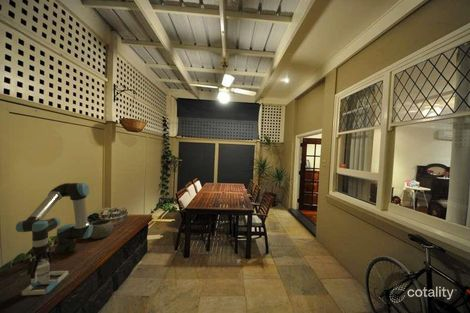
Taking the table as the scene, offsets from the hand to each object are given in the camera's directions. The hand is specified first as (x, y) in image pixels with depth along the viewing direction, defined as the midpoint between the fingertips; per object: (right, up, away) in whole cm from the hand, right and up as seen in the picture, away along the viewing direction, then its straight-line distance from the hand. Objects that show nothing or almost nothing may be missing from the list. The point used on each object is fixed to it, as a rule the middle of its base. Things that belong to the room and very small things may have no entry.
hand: (40, 277), depth 130 cm
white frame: (-1, -8, +5) cm, 9 cm away
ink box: (0, -4, 0) cm, 4 cm away
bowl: (-15, -5, +80) cm, 82 cm away
